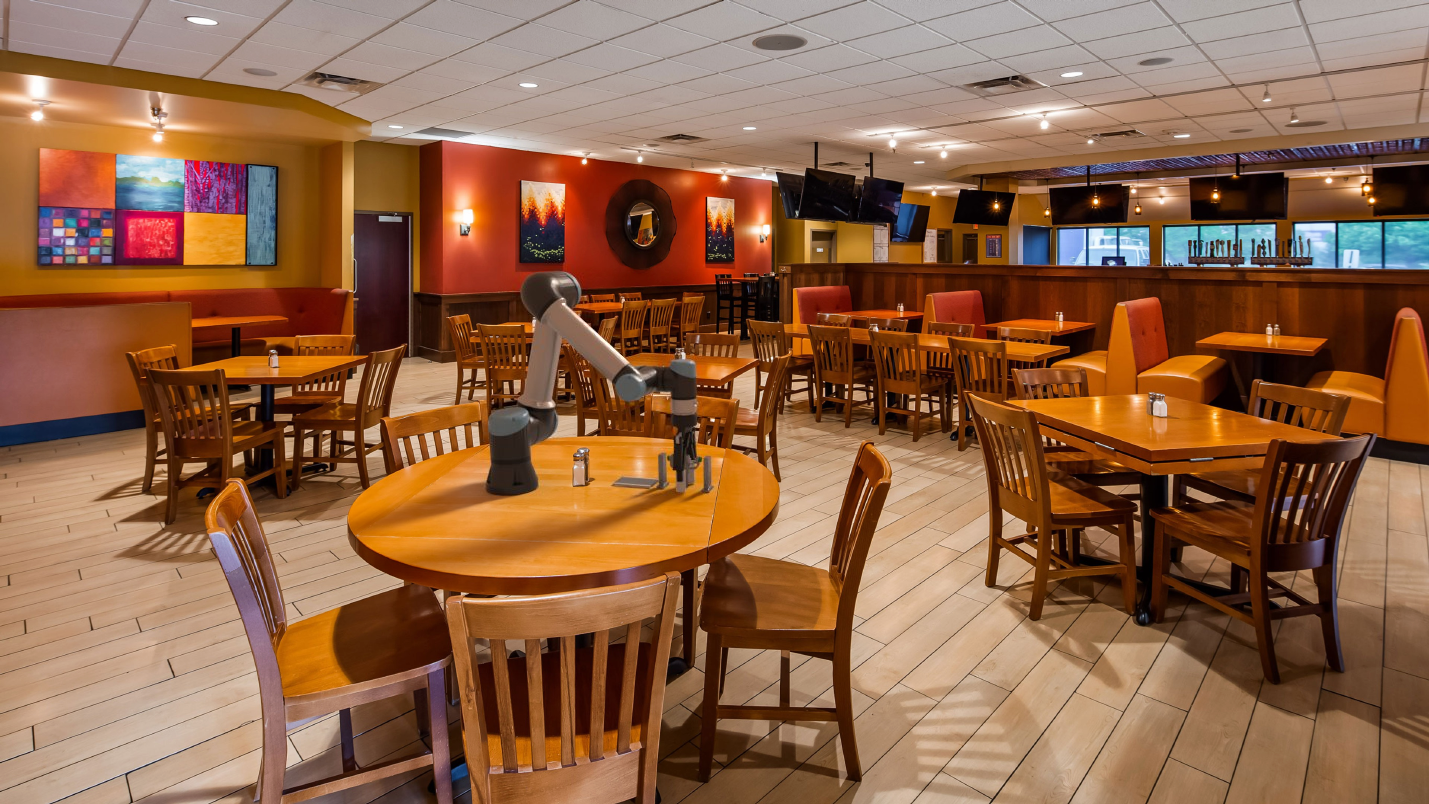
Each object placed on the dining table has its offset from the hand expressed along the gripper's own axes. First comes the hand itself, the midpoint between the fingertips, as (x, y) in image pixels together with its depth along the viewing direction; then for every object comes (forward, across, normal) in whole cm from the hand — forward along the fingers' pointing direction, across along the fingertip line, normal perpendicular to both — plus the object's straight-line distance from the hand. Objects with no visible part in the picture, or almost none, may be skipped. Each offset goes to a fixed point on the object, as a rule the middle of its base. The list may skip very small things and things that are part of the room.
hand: (685, 487), depth 231 cm
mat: (0, +1, +16) cm, 16 cm away
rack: (0, 0, 0) cm, 0 cm away
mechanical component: (0, 0, 0) cm, 0 cm away
